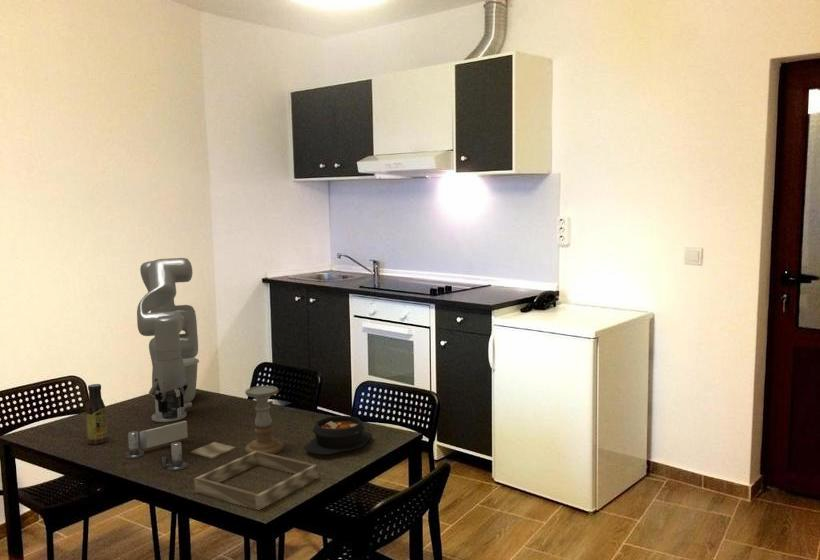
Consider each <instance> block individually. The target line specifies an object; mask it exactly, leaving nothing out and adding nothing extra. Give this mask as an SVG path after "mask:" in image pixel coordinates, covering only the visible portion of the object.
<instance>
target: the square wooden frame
mask: <svg viewBox="0 0 820 560" xmlns="http://www.w3.org/2000/svg"><path fill="white" fill-rule="evenodd" d="M259 465H260V467H263V466H264V467H263V468H267V467H269V468H268V469H271V468H273V469H272V470H275V469H277V470H276V471H279V470H281V472H283V471H285V472H284V473H287V472H289V473H288V474H291V473H294V474H292V476H289V477H287V478H285V479H284V480H281V481H280V482H278V483H276V484H274V485H271V486H270V487H268V488H267V489H265V490H263V491H261V492H259V493H258V492H254V491H249V490H245V489H241V488H238V487H235V486H231V485H227V484H225V483H221V482H224V481H226V480H228V479H230V478H232V477H234V476H236V475H238V474H240V473H243V472H245V471H247V470H249V469H251V468H253V467H255V466H259ZM316 478H317V479H318V478H319V467H318V464H315V463H311V462H306V461H303V460H302V461H301V460H298V459H294V458H290V457H285V456H281V455H278V454H277V455H276V454H269V453H264V452H260V451H254V452H251V453H249V454H247V453H246V454H245V455H242V456H241V457H239V458H236V459H234V460H232V461H229V462H226V463H225V464H223V465H220V466H219V467H216V468H215V469H211V470H209V471H207V472H205V473H203V474H201V475H199V476H196V477H195V478H193V482H194V484H193V485H194V493H197V494H200V495H204V496H206V497H210V498H214V499H217V500H220V501H223V502H227V503H230V504H234V505H237V504H238V506H240V505H242V506H241V507H244V506H245V507H244V508H247V507H249V508H248V509H251V508H253V509H252V510H254V509H257V510H260V509H262V508H264V507H265V506H267V505H269V504H271V503H273V502H275V501H276V502H278V501H279V499H280V500H281V498H282V497H284V496H285V497H287V496H289V495H290V493H291V492H292V493H294V492H296V491H297V490H296V489H298V488H300V487H301V488H303V487H305V486H306V485H305V484H307V483H308V484H310V483H311V482H310V481H312V480H314V479H316ZM317 479H316V480H317ZM314 481H315V480H314ZM309 482H310V483H309ZM312 482H313V481H312ZM308 484H307V485H308ZM304 485H305V486H304ZM302 486H303V487H302ZM301 488H300V489H301ZM295 490H296V491H295ZM298 490H299V489H298ZM293 491H294V492H293ZM292 493H291V494H292ZM288 494H289V495H288ZM286 495H287V496H286ZM285 497H284V498H285ZM282 499H283V498H282ZM277 500H278V501H277ZM276 502H275V503H276ZM273 504H274V503H273ZM271 505H272V504H271ZM269 506H270V505H269ZM267 507H268V506H267ZM264 509H265V508H264ZM257 510H256V511H257ZM262 510H263V509H262ZM260 511H261V510H260Z"/></svg>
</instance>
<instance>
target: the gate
mask: <svg viewBox="0 0 820 560" xmlns="http://www.w3.org/2000/svg"><path fill="white" fill-rule="evenodd" d="M188 434H189V433H188V421H186V420H182V421H178V422H174V423H170V424H166V425H162V426H158V427H154V428H150V429H144V430H140V431H139V448H140V450H147V449H149V448H152V447H153V448H154V447H156V446H160V445H163V444H164V445H165V444H168V443H173V442H177V441H180V440H182V439H186V438H188V437H189V435H188Z"/></svg>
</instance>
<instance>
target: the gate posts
mask: <svg viewBox="0 0 820 560" xmlns="http://www.w3.org/2000/svg"><path fill="white" fill-rule="evenodd" d="M127 441H128V452H125V453H124V458H125V459H138V458H140V457H143V456H144V455H145V450H142V449H140V440H139V431H137V430H134V431H133V430H132V431H129V432H128V433H127ZM170 449H171V463H169V457H168V456H161V467H162V468H165V469H167V470H168V471H173V472H175V471H177V472H178V471H182V470H185V469H187V468H188V462H186V461H183V452H182V450H183V449H182V441H172V442H170Z"/></svg>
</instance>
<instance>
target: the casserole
mask: <svg viewBox="0 0 820 560" xmlns="http://www.w3.org/2000/svg"><path fill="white" fill-rule="evenodd" d="M312 432H313V433H314V435H315V437H313V439H311V441H310V442H309V443H307V444H306V445H305V446H304V447H303V449H304V451H306V452H309V453H312V454H316V455H322V456H329V455H333V454H339V453H346V452H350V451H353V450H357V449H359V448H361V447H363V446H365V445H366V444H367V443H368V441H369V440H370V439H371V438H373V434H372V433H371V432H369V431H367V430H365V425H364V424H363V423H362V420H361V419H360V418H358V417H355V416H351V415H333V416H332V415H331V416H328V417H327V416H326V417H324V418H321V419H319V420H318V421H316V422H315V424H314V427H313V429H312Z"/></svg>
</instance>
